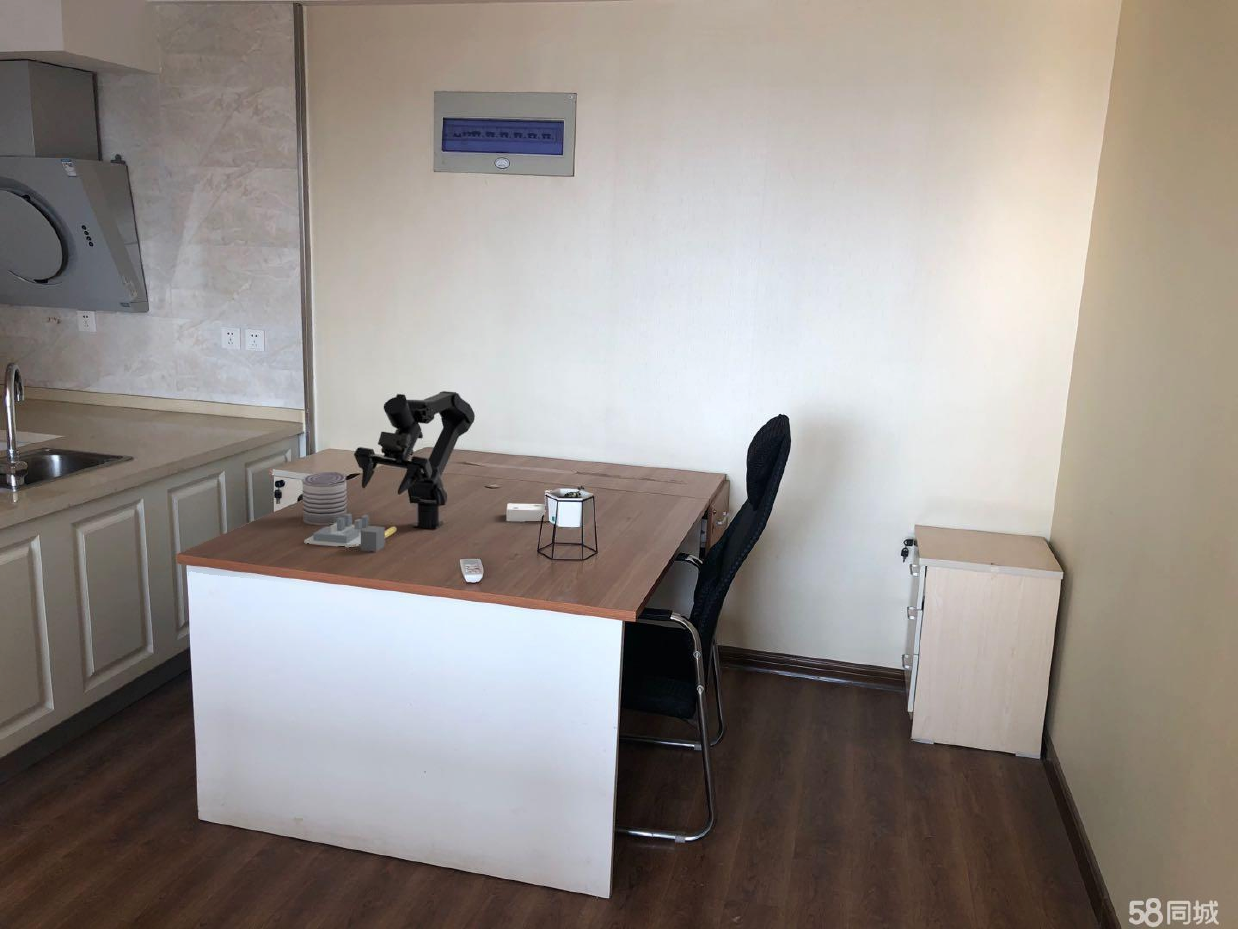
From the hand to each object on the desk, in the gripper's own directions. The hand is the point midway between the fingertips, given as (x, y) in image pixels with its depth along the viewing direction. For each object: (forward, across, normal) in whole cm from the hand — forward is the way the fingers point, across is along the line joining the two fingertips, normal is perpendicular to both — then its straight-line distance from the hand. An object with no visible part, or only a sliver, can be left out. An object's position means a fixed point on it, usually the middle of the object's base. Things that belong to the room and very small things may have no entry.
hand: (380, 490), depth 235 cm
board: (+4, -13, +18) cm, 22 cm away
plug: (+5, -2, +16) cm, 17 cm away
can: (-5, -25, +27) cm, 37 cm away
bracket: (-23, +26, +38) cm, 52 cm away
